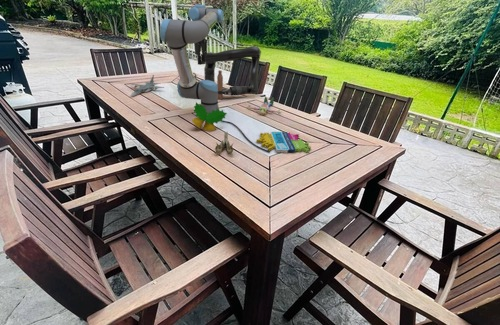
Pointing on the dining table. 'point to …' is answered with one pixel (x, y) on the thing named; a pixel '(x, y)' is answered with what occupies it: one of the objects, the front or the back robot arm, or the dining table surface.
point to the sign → (283, 142)
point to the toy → (265, 107)
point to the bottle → (220, 84)
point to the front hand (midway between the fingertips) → (201, 64)
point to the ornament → (207, 117)
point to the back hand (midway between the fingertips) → (216, 91)
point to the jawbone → (224, 145)
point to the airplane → (145, 87)
